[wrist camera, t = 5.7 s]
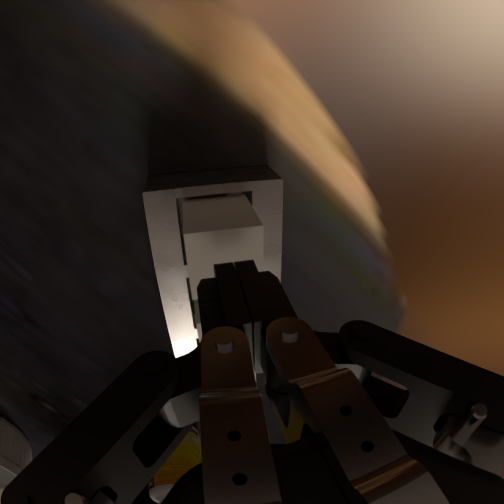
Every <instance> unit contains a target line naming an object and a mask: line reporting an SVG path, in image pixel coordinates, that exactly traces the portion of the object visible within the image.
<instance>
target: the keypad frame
mask: <svg viewBox="0 0 504 504" xmlns="http://www.w3.org/2000/svg"><path fill="white" fill-rule="evenodd" d="M142 193H143V200H144V207H145V214H146V220H147V226H148V232H149V238H150V244H151V249H152V255H153V260H154V266H155V271H156V276H157V281H158V286H159V290H160V295H161V300H162V304H163V309H164V313H165V318H166V322H167V326H168V330H169V335H170V339H171V343H172V347H173V351H174V355H175V358H177V357H180V356H182V355H185V354H187V353H189V352H191V351H193V350H194V349H195V348H196V347H197V346H198V345H199V337H198V331H197V325H196V317H195V307H194V300H192V293H191V287H190V280H189V273H188V266H187V258H186V251H185V243H184V235H183V209H182V201H185V200H194V199H203V198H213V197H223V196H234V195H245V196H246V197H247V199H248V201H249V202H250V204H251V206H252V207H253V209H254V210H255V212H256V214H257V216H258V217H259V219H260V221H261V222H262V224H263V235H264V271H270V272H271V273H272V274H274V275H275V276H277V277H278V279H279V281H280V283H281V253H282V212H283V179H282V178H281V177H280V176H279V175H278V174H277V173H276V172H275V171H274V170H272V169H271V168H270V167H269V166H254V167H240V168H227V169H215V170H204V171H194V172H185V173H176V174H167V175H159V176H151V177H148V178H147V181H146V184H145V187H144V190H143V192H142Z"/></svg>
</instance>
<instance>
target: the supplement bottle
mask: <svg viewBox="0 0 504 504" xmlns="http://www.w3.org/2000/svg"><path fill="white" fill-rule="evenodd" d="M200 463H202V457H201V445H200V438H199V433H198V431H197V430H196V428H195V427H192V428H191V430H190V431H189V432H188V434H187V435H186V436H185V438H184V439H183V440H182V441H181V443H180V444H179V445H178V447H177V448H176V449H175V450H174V452H173V453H172V454H171V455H170V457H169V458H168V459H167V460H166V462H165V463H164V464H163V465H162V467H161V468H160V469H159V470H158V472H157V473H156V474H155V475H154V477H153V478H152V479H151V480H150V481H149V483H148V484H149V495H150V497H151V499H152V500H153V501H155V502H157V503H158V504H161V502H162V501H163V500H164V498H165V497H166V495H167V494H168V493H169V491H170V490H171V488H172V487H173V486H174V484H175V483H176V482H177V481H178V480H179V478H180V477H181V476H182V475H183V474H185V473H186V472H187V471H188V470H190V469H191V468H193V467H194V466H196V465H198V464H200Z"/></svg>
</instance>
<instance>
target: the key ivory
mask: <svg viewBox="0 0 504 504" xmlns="http://www.w3.org/2000/svg"><path fill="white" fill-rule="evenodd" d="M182 209H183V235H184V243H185V251H186V258H187V266H188V273H189V280H190V287H191V293H192V300H197V299H198V296H197V286H198V284H199V282H200V281H201V279H205V278H214V266H213V265H214V264H220V263H228V262H233V264H234V262H236V261H244V260H254V262H255V265H256V267H257V269H258V272H261V271H264V235H263V224H262V222H261V221H260V219H259V217H258V216H257V214H256V212H255V210H254V209H253V207H252V206H251V204H250V202H249V201H248V199H247V197H246V196H245V195H234V196H223V197H213V198H203V199H194V200H185V201H182Z"/></svg>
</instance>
